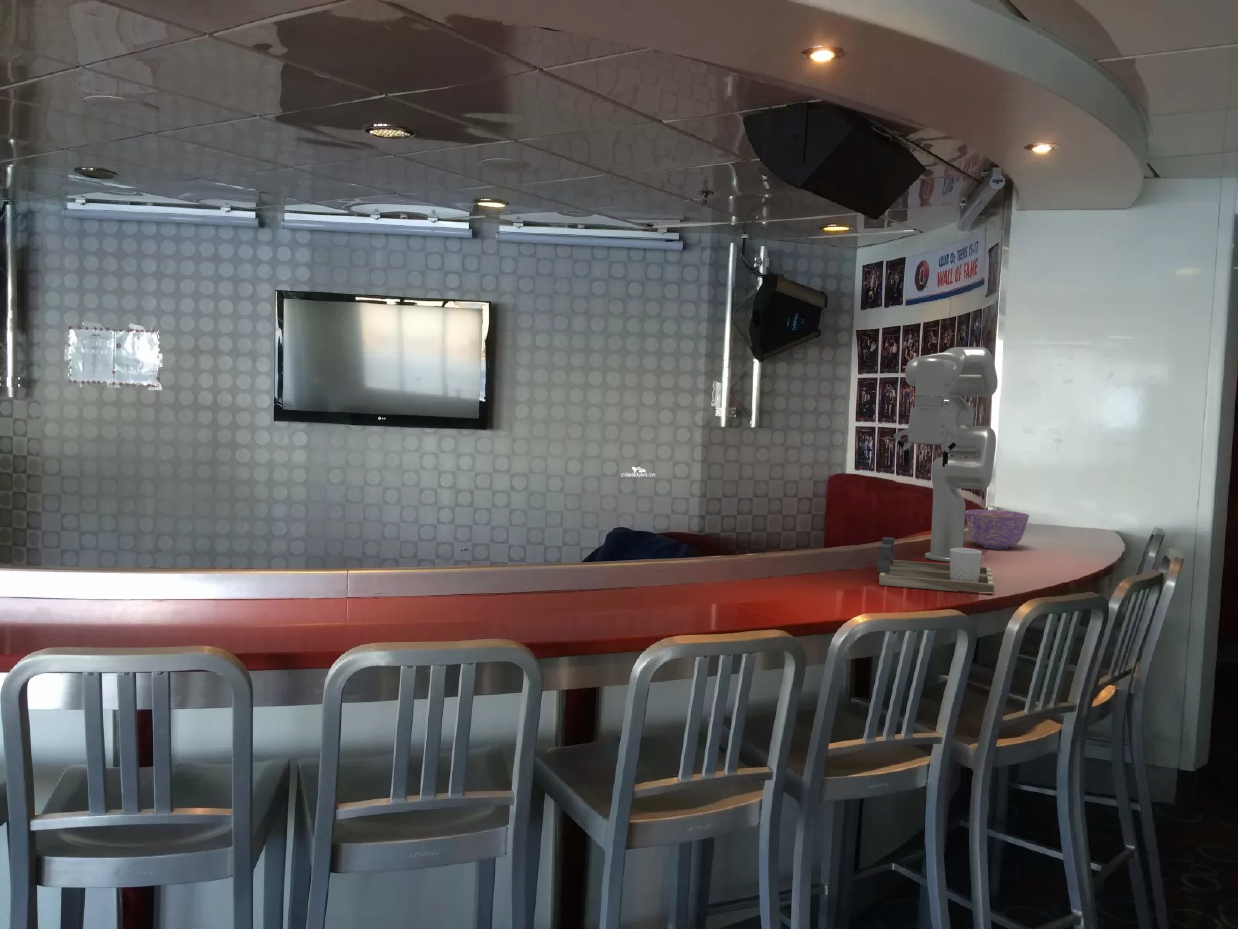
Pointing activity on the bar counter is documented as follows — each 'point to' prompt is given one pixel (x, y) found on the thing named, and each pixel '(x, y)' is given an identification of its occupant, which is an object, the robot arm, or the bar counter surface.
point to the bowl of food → (996, 527)
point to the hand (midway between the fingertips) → (925, 465)
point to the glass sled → (925, 577)
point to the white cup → (965, 564)
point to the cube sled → (923, 565)
